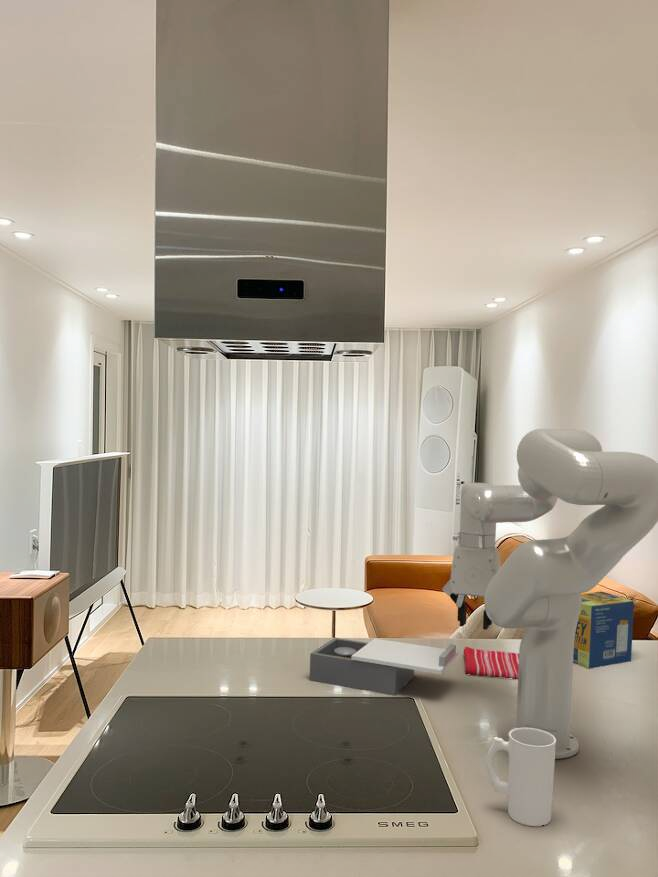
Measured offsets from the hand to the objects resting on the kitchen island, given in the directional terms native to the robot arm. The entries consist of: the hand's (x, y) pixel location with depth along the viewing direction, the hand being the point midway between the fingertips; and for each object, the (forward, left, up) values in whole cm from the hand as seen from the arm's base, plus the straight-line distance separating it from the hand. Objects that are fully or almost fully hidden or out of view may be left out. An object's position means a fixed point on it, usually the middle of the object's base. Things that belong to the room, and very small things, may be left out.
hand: (474, 625), depth 162 cm
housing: (0, +25, -15) cm, 29 cm away
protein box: (+41, -22, -16) cm, 49 cm away
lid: (0, +15, -9) cm, 18 cm away
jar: (0, +30, -15) cm, 33 cm away
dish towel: (+24, -5, -16) cm, 29 cm away
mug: (-45, -17, -16) cm, 51 cm away
